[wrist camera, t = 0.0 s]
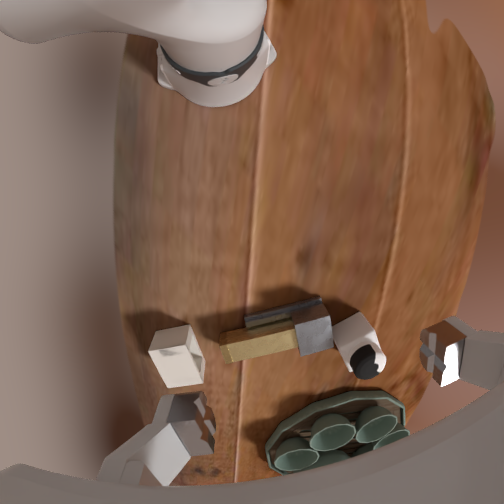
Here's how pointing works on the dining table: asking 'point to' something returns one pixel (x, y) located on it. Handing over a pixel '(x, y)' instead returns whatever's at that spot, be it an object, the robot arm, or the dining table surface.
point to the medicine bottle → (359, 346)
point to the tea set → (336, 431)
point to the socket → (177, 356)
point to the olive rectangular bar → (258, 340)
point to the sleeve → (301, 323)
